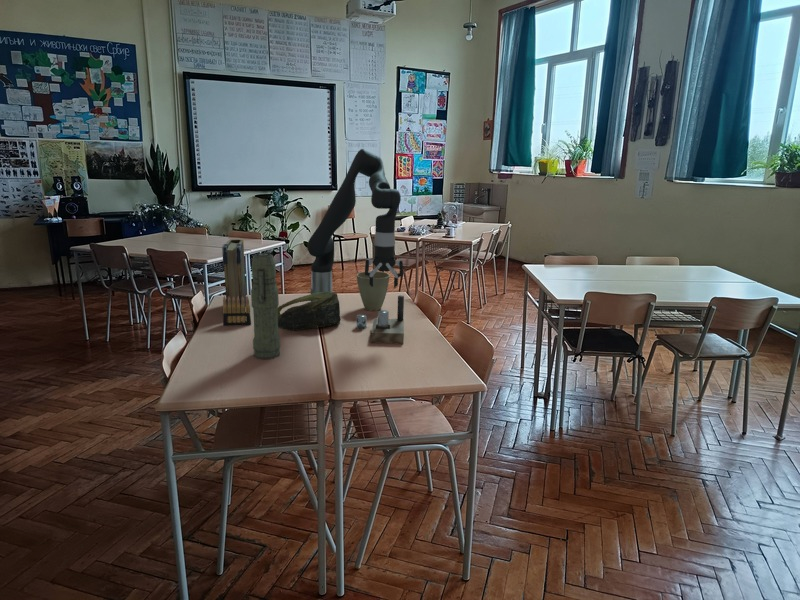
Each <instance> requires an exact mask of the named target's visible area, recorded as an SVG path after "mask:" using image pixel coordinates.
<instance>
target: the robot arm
mask: <svg viewBox="0 0 800 600" xmlns="http://www.w3.org/2000/svg"><path fill="white" fill-rule="evenodd" d="M384 166H385V165H384V162H383V159H382V158H381V157H380V156H378V155H376V154H375V153H373V152H371V151H369V150H367V149H364V148H361V149H360V150H359V151H358V152H357V153H356V154H355V156H354V158H353V160H352V162H351V164H350V167H349V169H348V170H347V174H346V175H345V178H344V179H343V182H342V183H341V185H340V187H339V188H338V190H337V192H336V193H335V195H334V197H333V198H332V201H330V202H331V203H330V205H329V207H328V208H327V210H326V212H325V214H324V216H323V218H322V219H321V221H320V223H319V224H318V226H317V228H316V229H315V231H314V232H313V234H312V235H311V236H310V238H309V240H308V241H307V251H308V254H309V255H310V256H312V257H314V261H313V262H312V264H311V266H310V271H311V272H310V277H311V280H310V281H311V288H310V294H313V293H318V292H333V265H334V263H335V262H334V261H335V242H334V239H333V237H332V236H333V235H334V234H335V232H336V231H337V230H338V229H339V228H340V227H341V226H342V225H343V224H344V223H345V222H346V221H347V220H348V219H349V217H350V215H351V213H352V212H353V210H354V208H355V206H356V203H357V199H356V196H357V195H356V188H355V187H356V179H357V176H358V174H360V175H361V174H362V175H363V176H366V177H367V178H368V186H369V189H370V190H371V197H370V202H371V206H372V207H373V208H375V209H388V211H387V212H386V213H385V214H384V213H383V214H380V215H377V216H376V217H375V231H374V232H375V234H374V247H373V248H374V250H373V252H374V255H373V258H372V259H370V258H366V259H365V264H364V266H365V267H364V272H365V275H367V276H369V284H370V285H371V287H373V275H374V274H375V273H376V272H385V273H388V272H391V274H392V276H393V278H394V279H393V288H395V289H396V287H398V285H399V278H402V277H403V276H404V264H403V260H402V259H399V260H398V259H397V260H396V258H395V255H396V254H395V252H396V251H395V250H396V235H395V234H396V233H395V231H396V229H395V228H396V227H395V225H396V218H397V214H398V210H399V207H400V204H401V200H402V199H401V194H400V191H399V190H397V189H396V188H391V186H390V182H388V179H387V178H386V176H385V175H386V173H385V167H384ZM372 264H373V265H374V267H373V269H372V270H371V271H372V272H371V273H370V272H368V271H370V270H369V268H370V266H371V265H372ZM395 265H396V266H398V267H399V272H397V271H396V269H395V268H394V266H395ZM316 300H319V299H316ZM316 300H312V301H316ZM312 301H310V302H312Z"/></svg>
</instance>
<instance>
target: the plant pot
mask: <svg viewBox="0 0 800 600" xmlns="http://www.w3.org/2000/svg"><path fill="white" fill-rule="evenodd" d="M372 271H373V270H371V271H370V270H368V272H370V273H371V272H372ZM390 275H391V274H390V273H388V272H386V271H377V272H376V273H375V274H374V275H373V287H371V285H370V284H369V276H367V275H365V271H360V272H358V273H357V274H356V280H357V281H356V282H357V286H358V287H357V288H358V291H359V295H360V299H361V301H362V305H363V307H364V309H365V310H366V309H367V310H366V311H369V310H377V311H380V310H382V308H383V305H384V301H385V300H386V295H387V293H388V287H389V283H390Z"/></svg>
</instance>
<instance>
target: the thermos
mask: <svg viewBox="0 0 800 600" xmlns="http://www.w3.org/2000/svg"><path fill="white" fill-rule="evenodd" d="M276 267H277V266H276V260H275V258H274V255H273V254H271V253H269V252H260V253H259V252H258V253H256V254H253V257H252V261H251V276H252V286H251V290H250V296H251V297H250V299H251V307H252V310H253V311H252V312H253V331H254V332H253V333H254V335H253V340H252V346H253V347H252V348H253V353H254V354H253V356H254V357H255V358H256V359H259V358H260V359H259V360H272V359H275V357H276V358H278V357H279V356H280V355H281V352H280V350H281V338H280V333H279V327H278V313H277V308H278V307H279V306H280V305H279V299H280V298H279V288H278V285H277V280H276V277H277V271H276V269H277V268H276ZM271 358H272V359H271Z"/></svg>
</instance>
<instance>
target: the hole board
mask: <svg viewBox="0 0 800 600" xmlns="http://www.w3.org/2000/svg"><path fill="white" fill-rule="evenodd" d="M404 305H405V295H403V294H402V295H398V296H397V314H396V315H397V317H396V318H388V329H378V317H377V318H373V320H372V321H373V323H372V326H371V327H372V328H371V331H370V332H371V335H370V336H371V338H370V339H371V340H370V343H371V342H372V344H395V343H399V344H401V345H404V343H405V342H404V341H405V339H404V338H405V329H404V328H405V322H404V321H405V320H404V311H405V310H404V309H405V308H404V307H405V306H404Z"/></svg>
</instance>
